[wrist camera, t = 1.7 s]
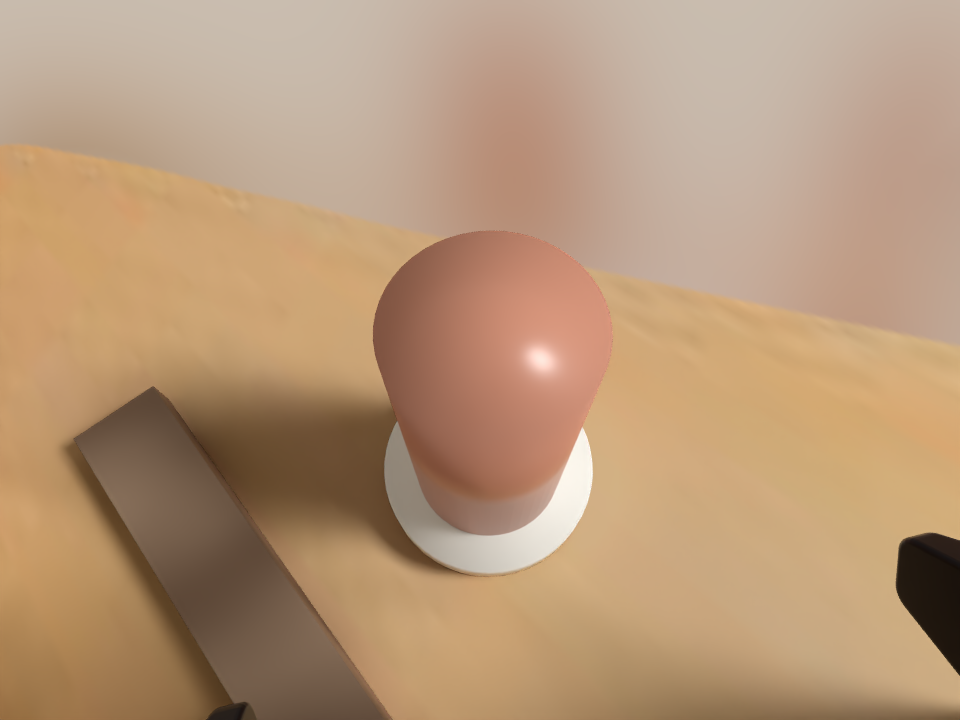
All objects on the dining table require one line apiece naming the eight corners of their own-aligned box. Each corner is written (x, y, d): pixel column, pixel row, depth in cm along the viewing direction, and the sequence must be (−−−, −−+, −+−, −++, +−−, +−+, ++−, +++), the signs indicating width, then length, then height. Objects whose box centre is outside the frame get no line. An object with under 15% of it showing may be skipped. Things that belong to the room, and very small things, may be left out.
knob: (548, 611, 20) (608, 564, 10) (354, 527, 21) (249, 416, 11) (612, 421, 23) (704, 248, 13) (438, 357, 24) (409, 156, 14)
